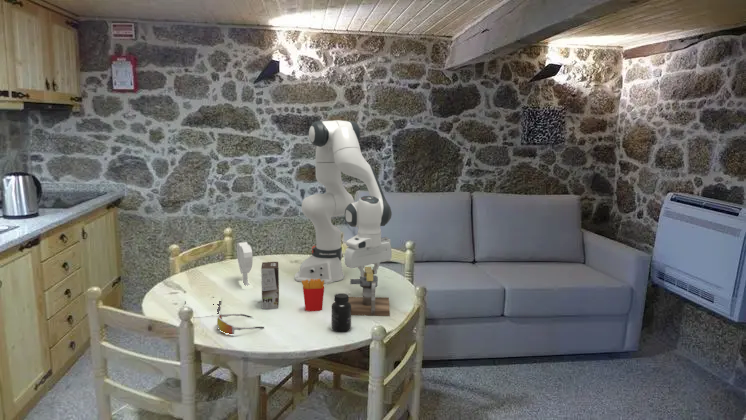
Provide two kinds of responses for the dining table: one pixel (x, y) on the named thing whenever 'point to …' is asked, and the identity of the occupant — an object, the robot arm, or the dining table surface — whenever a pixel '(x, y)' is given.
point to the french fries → (313, 294)
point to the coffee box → (270, 285)
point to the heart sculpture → (244, 260)
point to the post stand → (369, 303)
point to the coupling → (366, 279)
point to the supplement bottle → (341, 313)
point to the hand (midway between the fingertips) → (368, 275)
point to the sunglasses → (230, 328)
